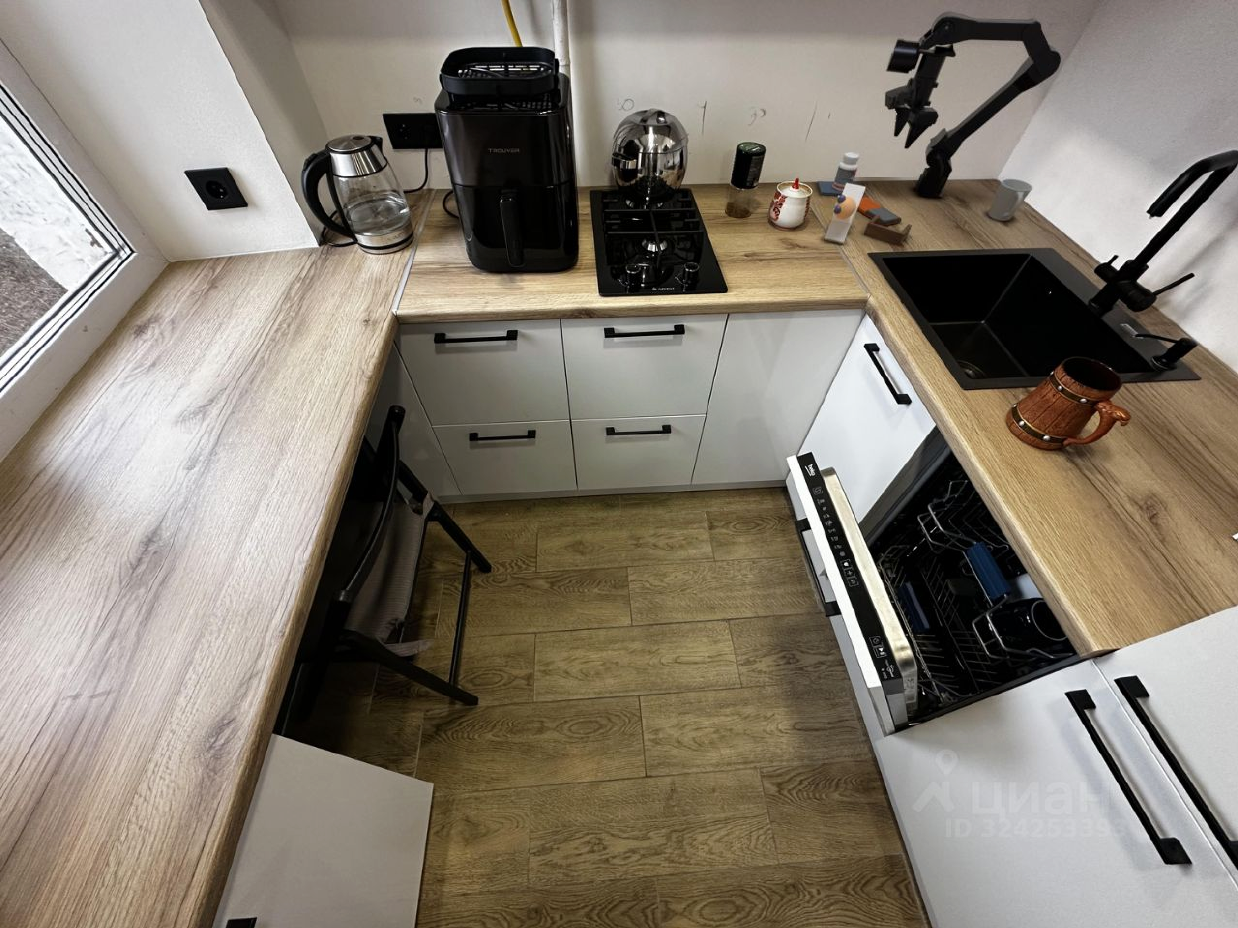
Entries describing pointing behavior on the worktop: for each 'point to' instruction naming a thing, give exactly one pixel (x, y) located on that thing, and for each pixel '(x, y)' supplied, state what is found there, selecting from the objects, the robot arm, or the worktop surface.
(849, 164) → the pill bottle
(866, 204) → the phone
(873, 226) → the brown wooden tray
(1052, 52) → the robot arm
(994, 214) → the cup
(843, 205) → the white dotted panel
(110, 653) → the worktop surface
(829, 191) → the seat mat
